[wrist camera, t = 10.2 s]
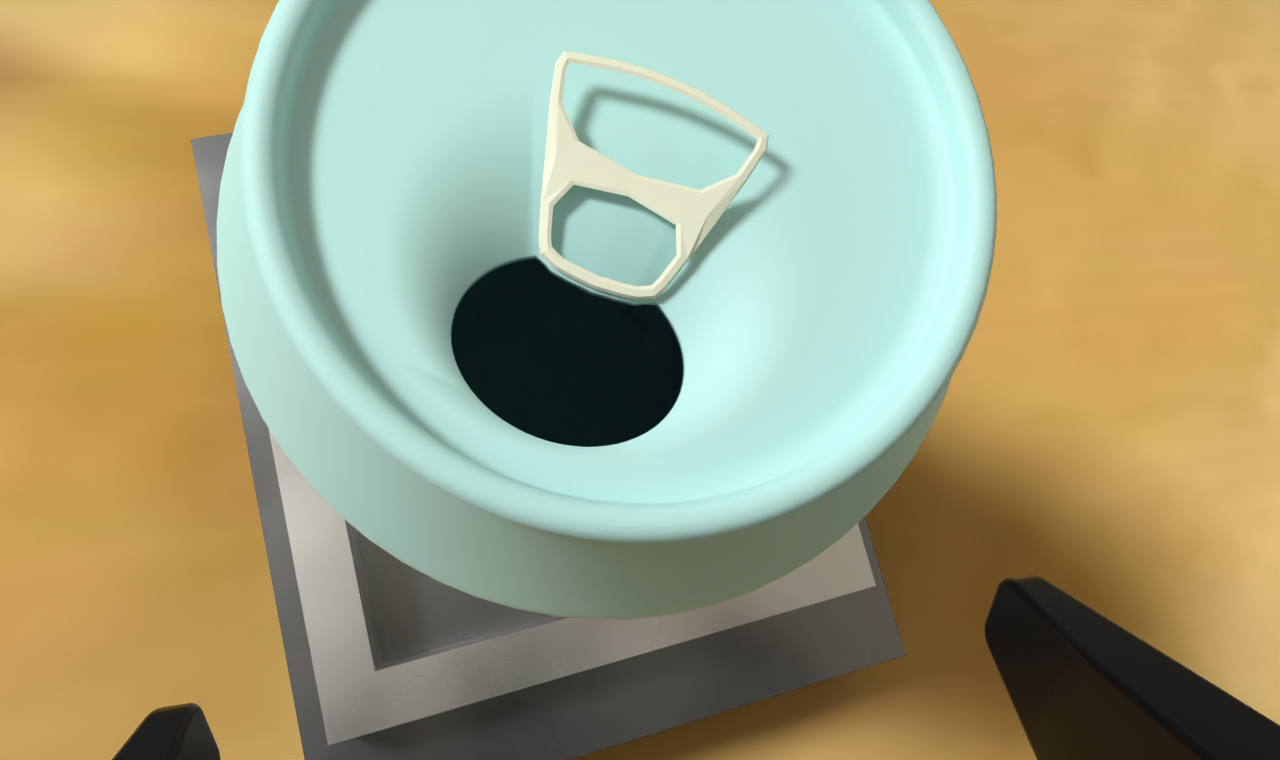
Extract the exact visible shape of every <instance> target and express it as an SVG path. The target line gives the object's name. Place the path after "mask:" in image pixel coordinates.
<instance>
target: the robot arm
mask: <svg viewBox="0 0 1280 760" xmlns="http://www.w3.org/2000/svg"><path fill="white" fill-rule="evenodd" d="M985 637H986V641H987V644H988V647H989V649H990V652H991V654H992V656H993V659H994V661H995V663H996V666H997V668H998V670H999V673H1000V675H1001V677H1002V680H1003V682H1004V684H1005V687H1006V689H1007V691H1008V694H1009V696H1010V698H1011V701H1012V703H1013V705H1014V708H1015V710H1016V712H1017V715H1018V717H1019V719H1020V722H1021V724H1022V726H1023V729H1024V731H1025V733H1026V736H1027V738H1028V740H1029V743H1030V745H1031V747H1032V749H1033V751H1034V753H1035V756H1036V758H1037V760H1280V725H1278V724H1277V723H1275V722H1273V721H1272V720H1270V719H1269V718H1267V717H1265V716H1264V715H1262V714H1260V713H1259V712H1257V711H1256V710H1254V709H1252V708H1251V707H1249V706H1248V705H1246V704H1244V703H1243V702H1241V701H1240V700H1238V699H1236V698H1235V697H1233V696H1232V695H1230V694H1228V693H1227V692H1225V691H1223V690H1222V689H1220V688H1219V687H1217V686H1215V685H1214V684H1212V683H1211V682H1209V681H1207V680H1206V679H1204V678H1203V677H1201V676H1199V675H1198V674H1196V673H1194V672H1193V671H1191V670H1190V669H1188V668H1186V667H1185V666H1183V665H1182V664H1180V663H1178V662H1177V661H1175V660H1174V659H1172V658H1170V657H1169V656H1167V655H1165V654H1164V653H1162V652H1161V651H1159V650H1157V649H1156V648H1154V647H1153V646H1151V645H1149V644H1148V643H1146V642H1145V641H1143V640H1141V639H1140V638H1138V637H1136V636H1135V635H1133V634H1132V633H1130V632H1128V631H1127V630H1125V629H1124V628H1122V627H1120V626H1119V625H1117V624H1116V623H1114V622H1112V621H1111V620H1109V619H1107V618H1106V617H1104V616H1103V615H1101V614H1099V613H1098V612H1096V611H1095V610H1093V609H1091V608H1090V607H1088V606H1087V605H1085V604H1083V603H1082V602H1080V601H1079V600H1077V599H1075V598H1074V597H1072V596H1070V595H1069V594H1067V593H1066V592H1064V591H1062V590H1061V589H1059V588H1058V587H1056V586H1054V585H1053V584H1051V583H1050V582H1048V581H1046V580H1045V579H1043V578H1041V577H1038V576H1035V575H1026V576H1020V577H1013V578H1007V579H1004V580H1003V581H1002V582H1001V583H1000V584H999V586H998V588H997V591H996V594H995V597H994V600H993V603H992V605H991V608H990V611H989V614H988V617H987V620H986V623H985ZM112 760H220V754H219V750H218V747H217V744H216V742H215V740H214V737H213V735H212V733H211V730H210V728H209V725H208V723H207V721H206V718H205V716H204V713H203V711H202V710H201V708H200V707H199V706H198V705H197V704H195V703H188V704H181V705H175V706H168V707H162V708H158V709H156V710H154V711H152V712H151V713H150V714H149V715H148V716H147V717H146V718H145V719H144V720H143V722H142V723H141V724H140V725H139V727H138V728H137V729H136V730H135V732H134V733H133V734H132V735H131V736H130V738H129V739H128V740H127V741H126V743H125V744H124V745H123V746H122V748H121V749H120V750H119V751H118V753H117V754H116V755H115V756H114V758H113V759H112Z"/></svg>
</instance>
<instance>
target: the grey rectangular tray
mask: <svg viewBox="0 0 1280 760" xmlns="http://www.w3.org/2000/svg"><path fill="white" fill-rule="evenodd" d="M232 135H233V133H229V134H222V135H215V136H209V137H202V138H196V139H191V142H192V147H193V153H194V158H195V164H196V169H197V174H198V180H199V185H200V191H201V196H202V202H203V207H204V213H205V218H206V224H207V229H208V234H209V240H210V245H211V251H212V256H213V262H214V267H215V273H216V278H217V284H218V289H219V294H220V286H219V278H218V270H217V213H218V203H219V192H220V184H221V179H222V174H223V170H224V165H225V160H226V155H227V150H228V147H229V144H230V141H231V138H232ZM220 300H221V294H220ZM221 305H222V302H221ZM222 311H223V308H222ZM223 316H224V312H223ZM224 322H225V327H226V333H227V338H228V344H229V349H230V354H231V360H232V365H233V371H234V376H235V382H236V387H237V393H238V398H239V404H240V409H241V414H242V420H243V425H244V431H245V436H246V442H247V447H248V453H249V458H250V464H251V469H252V475H253V480H254V485H255V491H256V496H257V502H258V507H259V513H260V518H261V524H262V529H263V535H264V540H265V545H266V551H267V556H268V562H269V567H270V573H271V578H272V584H273V589H274V595H275V600H276V605H277V611H278V616H279V622H280V627H281V633H282V638H283V644H284V649H285V655H286V660H287V665H288V671H289V676H290V682H291V687H292V693H293V698H294V704H295V709H296V715H297V720H298V725H299V731H300V736H301V742H302V747H303V753H304V758H305V760H570V759H573V758H577V757H580V756H583V755H586V754H589V753H593V752H596V751H599V750H602V749H605V748H609V747H612V746H615V745H618V744H621V743H625V742H628V741H631V740H634V739H638V738H641V737H644V736H647V735H650V734H654V733H657V732H660V731H663V730H666V729H670V728H673V727H676V726H679V725H682V724H686V723H689V722H692V721H695V720H699V719H702V718H705V717H708V716H711V715H715V714H718V713H721V712H724V711H727V710H731V709H734V708H737V707H740V706H743V705H747V704H750V703H753V702H756V701H760V700H763V699H766V698H769V697H772V696H776V695H779V694H782V693H785V692H788V691H792V690H795V689H798V688H801V687H804V686H808V685H811V684H814V683H817V682H821V681H824V680H827V679H830V678H833V677H837V676H840V675H843V674H846V673H849V672H853V671H856V670H859V669H862V668H865V667H869V666H872V665H875V664H878V663H882V662H885V661H888V660H891V659H894V658H898V657H901V656H904V655H905V653H904V649H903V646H902V642H901V639H900V636H899V632H898V629H897V625H896V622H895V618H894V615H893V612H892V608H891V605H890V601H889V598H888V595H887V591H886V588H885V584H884V581H883V577H882V574H881V571H880V567H879V564H878V560H877V557H876V554H875V550H874V547H873V543H872V540H871V536H870V533H869V530H868V526H867V523H866V519H865V517H864V518H863V519H862V520H861V521H859V522H858V523H857V524H856V525H855V526H854V527H853V528H852V529H851V530H850V531H849V532H848V533H846V534H845V535H844V536H843V537H842V538H841V539H839V540H838V541H837V542H835V543H834V544H833V545H831V546H830V547H829V548H827V549H826V550H825V551H823V552H822V553H821V554H819V555H818V556H817V557H815V558H814V559H812V560H811V561H809V562H807V563H806V564H804V565H802V566H800V567H799V568H797V569H795V570H794V571H792V572H790V573H789V574H787V575H785V576H784V577H782V578H780V579H778V580H776V581H773V582H771V583H769V584H767V585H765V586H762V587H760V588H758V589H756V590H754V591H752V592H749V593H747V594H744V595H741V596H738V597H735V598H732V599H729V600H726V601H723V602H721V603H718V604H715V605H712V606H707V607H703V608H699V609H694V610H690V611H685V612H681V613H677V614H671V615H663V616H654V617H646V618H638V619H598V620H595V619H583V618H571V617H560V616H552V615H547V614H541V613H536V612H531V611H525V610H520V609H515V608H512V607H508V606H505V605H502V604H498V603H495V602H491V601H488V600H485V599H481V598H478V597H475V596H473V595H470V594H468V593H465V592H463V591H460V590H458V589H456V588H453V587H451V586H448V585H446V584H443V583H441V582H439V581H437V580H435V579H433V578H431V577H429V576H427V575H426V574H424V573H422V572H420V571H418V570H416V569H414V568H412V567H411V566H409V565H407V564H405V563H403V562H401V561H400V560H399V559H397V558H396V557H394V556H393V555H391V554H390V553H388V552H387V551H385V550H384V549H382V548H381V547H379V546H378V545H376V544H375V543H373V542H372V541H370V540H369V539H368V538H366V537H365V536H364V535H363V534H362V533H360V532H359V531H358V530H357V529H356V528H354V527H353V526H352V525H351V524H350V523H348V522H347V521H346V520H345V519H344V518H342V517H341V516H340V515H339V514H338V513H337V512H336V511H335V510H334V509H333V508H332V507H331V506H330V505H329V504H328V503H327V502H326V501H325V500H324V499H323V498H322V497H321V496H320V495H319V494H318V493H317V492H316V491H315V490H314V489H313V488H312V487H311V486H310V485H309V484H308V482H307V481H306V480H305V478H304V477H303V476H302V475H301V473H300V472H299V471H298V470H297V468H296V467H295V466H294V464H293V463H292V462H291V461H290V459H289V458H288V457H287V455H286V454H285V453H284V452H283V450H282V449H281V447H280V445H279V444H278V442H277V441H276V439H275V437H274V436H273V434H272V433H271V431H270V429H269V428H268V426H267V425H266V423H265V421H264V420H263V418H262V416H261V414H260V412H259V410H258V408H257V406H256V404H255V402H254V400H253V398H252V396H251V394H250V392H249V390H248V388H247V386H246V384H245V382H244V379H243V376H242V373H241V370H240V368H239V365H238V362H237V359H236V356H235V354H234V351H233V348H232V345H231V341H230V337H229V333H228V329H227V325H226V321H225V316H224Z"/></svg>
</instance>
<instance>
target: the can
mask: <svg viewBox="0 0 1280 760" xmlns="http://www.w3.org/2000/svg"><path fill="white" fill-rule="evenodd" d="M996 220H997V193H996V182H995V171H994V161H993V156H992V151H991V145H990V140H989V134H988V129H987V126H986V122H985V119H984V115H983V112H982V108H981V105H980V101H979V98H978V95H977V93H976V90H975V88H974V85H973V82H972V80H971V77H970V74H969V72H968V69H967V67H966V65H965V63H964V61H963V59H962V57H961V55H960V53H959V51H958V48H957V46H956V44H955V42H954V40H953V38H952V37H951V35H950V33H949V32H948V30H947V28H946V27H945V25H944V23H943V22H942V20H941V18H940V17H939V15H938V13H937V12H936V10H935V8H934V7H933V6H932V4H931V3H930V2H929V0H280V1H279V2H278V4H277V6H276V8H275V10H274V12H273V14H272V16H271V19H270V21H269V23H268V25H267V27H266V30H265V32H264V34H263V36H262V39H261V41H260V44H259V47H258V50H257V53H256V57H255V60H254V63H253V66H252V69H251V72H250V76H249V80H248V85H247V90H246V95H245V100H244V105H243V107H242V109H241V111H240V114H239V116H238V119H237V122H236V125H235V129H234V132H233V135H232V138H231V141H230V144H229V147H228V150H227V155H226V160H225V165H224V170H223V174H222V179H221V184H220V192H219V203H218V213H217V270H218V278H219V286H220V294H221V302H222V308H223V312H224V316H225V321H226V325H227V329H228V333H229V337H230V341H231V345H232V348H233V351H234V354H235V356H236V359H237V362H238V365H239V368H240V370H241V373H242V376H243V379H244V382H245V384H246V386H247V388H248V390H249V392H250V394H251V396H252V398H253V400H254V402H255V404H256V406H257V408H258V410H259V412H260V414H261V416H262V418H263V420H264V421H265V423H266V425H267V426H268V428H269V429H270V431H271V433H272V434H273V436H274V437H275V439H276V441H277V442H278V444H279V445H280V447H281V449H282V450H283V452H284V453H285V454H286V455H287V457H288V458H289V459H290V461H291V462H292V463H293V464H294V466H295V467H296V468H297V470H298V471H299V472H300V473H301V475H302V476H303V477H304V478H305V480H306V481H307V482H308V484H309V485H310V486H311V487H312V488H313V489H314V490H315V491H316V492H317V493H318V494H319V495H320V496H321V497H322V498H323V499H324V500H325V501H326V502H327V503H328V504H329V505H330V506H331V507H332V508H333V509H334V510H335V511H336V512H337V513H338V514H339V515H340V516H341V517H342V518H344V519H345V520H346V521H347V522H348V523H350V524H351V525H352V526H353V527H354V528H356V529H357V530H358V531H359V532H360V533H362V534H363V535H364V536H365V537H366V538H368V539H369V540H370V541H372V542H373V543H375V544H376V545H378V546H379V547H381V548H382V549H384V550H385V551H387V552H388V553H390V554H391V555H393V556H394V557H396V558H397V559H399V560H400V561H401V562H403V563H405V564H407V565H409V566H411V567H412V568H414V569H416V570H418V571H420V572H422V573H424V574H426V575H427V576H429V577H431V578H433V579H435V580H437V581H439V582H441V583H443V584H446V585H448V586H451V587H453V588H456V589H458V590H460V591H463V592H465V593H468V594H470V595H473V596H475V597H478V598H481V599H485V600H488V601H491V602H495V603H498V604H502V605H505V606H508V607H512V608H515V609H520V610H525V611H531V612H536V613H541V614H547V615H552V616H560V617H571V618H583V619H595V620H598V619H638V618H646V617H654V616H663V615H671V614H677V613H681V612H685V611H690V610H694V609H699V608H703V607H707V606H712V605H715V604H718V603H721V602H723V601H726V600H729V599H732V598H735V597H738V596H741V595H744V594H747V593H749V592H752V591H754V590H756V589H758V588H760V587H762V586H765V585H767V584H769V583H771V582H773V581H776V580H778V579H780V578H782V577H784V576H785V575H787V574H789V573H790V572H792V571H794V570H795V569H797V568H799V567H800V566H802V565H804V564H806V563H807V562H809V561H811V560H812V559H814V558H815V557H817V556H818V555H819V554H821V553H822V552H823V551H825V550H826V549H827V548H829V547H830V546H831V545H833V544H834V543H835V542H837V541H838V540H839V539H841V538H842V537H843V536H844V535H845V534H846V533H848V532H849V531H850V530H851V529H852V528H853V527H854V526H855V525H856V524H857V523H858V522H859V521H861V520H862V519H863V518H864V517H865V516H866V515H867V514H868V513H869V512H870V511H871V510H872V509H873V508H874V506H875V505H876V504H877V503H878V502H879V501H880V500H881V498H882V497H883V496H884V495H885V494H886V493H887V492H888V491H889V489H890V488H891V487H892V486H893V485H894V484H895V482H896V481H897V480H898V478H899V477H900V475H901V474H902V473H903V471H904V470H905V468H906V467H907V466H908V464H909V463H910V461H911V460H912V458H913V457H914V456H915V454H916V453H917V451H918V449H919V447H920V446H921V444H922V442H923V440H924V439H925V437H926V435H927V433H928V432H929V430H930V428H931V426H932V424H933V422H934V420H935V418H936V416H937V413H938V411H939V409H940V406H941V404H942V402H943V400H944V397H945V395H946V393H947V390H948V387H949V384H950V380H951V377H952V374H953V372H954V371H955V369H956V367H957V365H958V363H959V362H960V360H961V358H962V356H963V354H964V352H965V350H966V347H967V345H968V343H969V340H970V338H971V336H972V334H973V331H974V329H975V327H976V324H977V321H978V318H979V315H980V312H981V308H982V305H983V302H984V299H985V296H986V292H987V287H988V283H989V278H990V273H991V268H992V263H993V256H994V247H995V237H996Z"/></svg>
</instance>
